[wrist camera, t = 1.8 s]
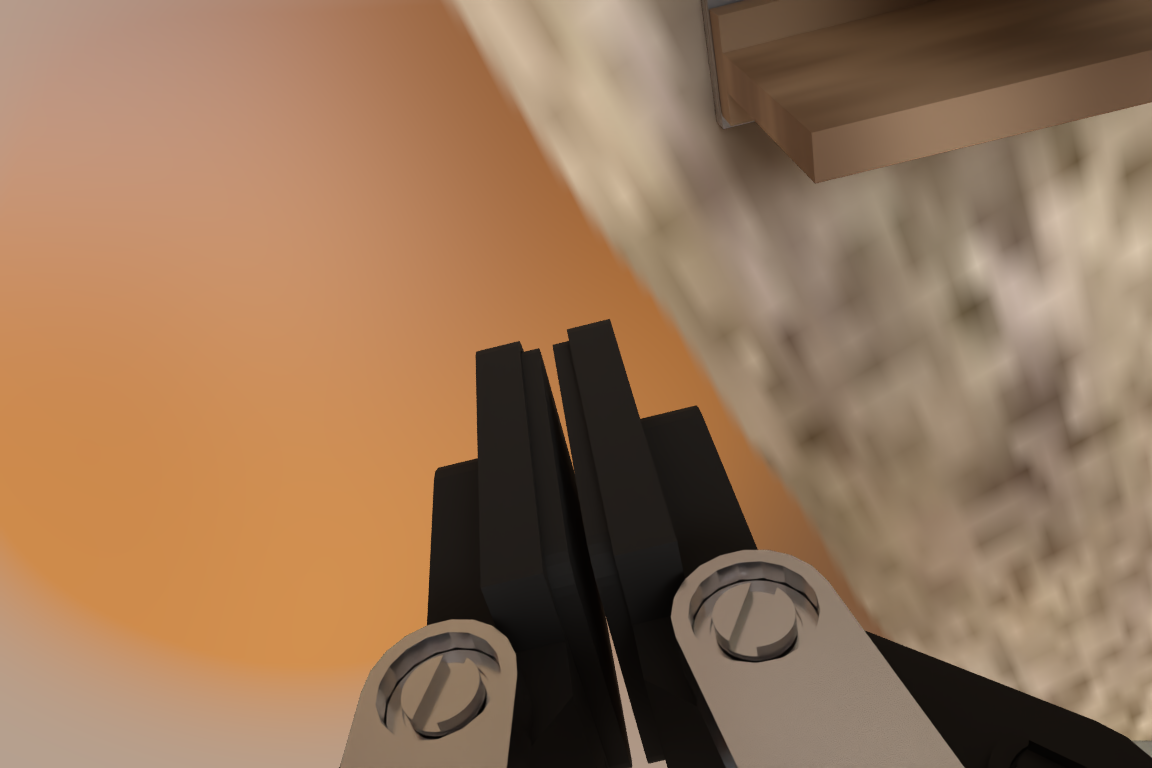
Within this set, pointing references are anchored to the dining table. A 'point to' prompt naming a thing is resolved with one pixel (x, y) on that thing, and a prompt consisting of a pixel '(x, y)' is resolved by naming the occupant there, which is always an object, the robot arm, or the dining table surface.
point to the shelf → (923, 72)
